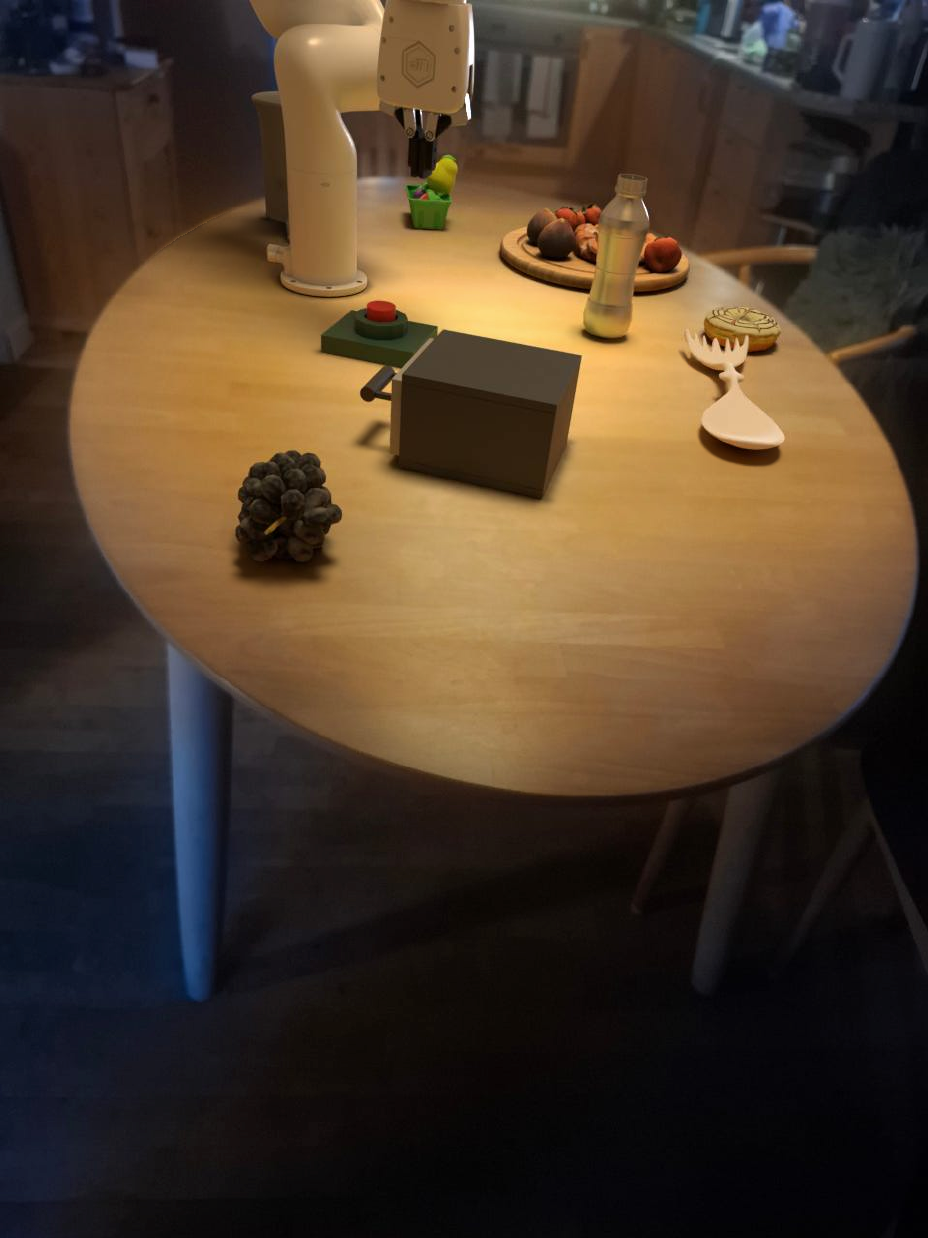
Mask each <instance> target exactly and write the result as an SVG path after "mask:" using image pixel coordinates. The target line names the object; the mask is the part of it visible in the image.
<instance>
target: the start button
mask: <svg viewBox="0 0 928 1238" xmlns="http://www.w3.org/2000/svg"><path fill="white" fill-rule="evenodd" d="M366 308H367V319H368V320H370V321H375V322H392V321H395V320H396V310H397V306H396V304H394V303H393V302H391V301H388V300H387V301H386V300H372V301H369V302H367V304H366Z"/></svg>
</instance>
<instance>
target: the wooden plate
mask: <svg viewBox="0 0 928 1238" xmlns="http://www.w3.org/2000/svg"><path fill="white" fill-rule="evenodd" d="M601 213H602V209H601V208H600V207H599V206H597V204H593V203H588V204H585V205H583V206H582V207H581V210H579V209H577V208H574V207H573V206H572V207H571V206H570V207H568V206H563V205H562V206H561V207H560V208H559V209H557V210H555V211H551V210H550V209H549V208H548V207H545V208H543V209H541V210H539V211H538V212H536V213H535V214H534V215H533V216H532V217H531V219H530V220H529V221H528V224H527V226H524V227H520V228H516V229H514V230H512V231H510V232H508V233H506V235H504V236H503V237H502V239H501V241H500V244H499V251H500V255H501V257H502V258H503V259H504V260H505V262H506V263H508V264H509V265H510V266H511V267H513V268H515V269H517V270H519V271H520V272H522V273H525V274H527V275H530V276H531V277H535V278H538V279H540V280H542V281H547V282H550V283H553V284H558V285H562V286H567V287H572V288H577V289H585V290H591V287H592V282H593V278H594V274H595V267H596V264H597V262H596V258H597V249H598V222H599V217H600V215H601ZM682 251H683V250H682V249H681V247H680V245H679V241H678V240H677V239H674V238H672V237H670V236H668V235H667V236H665V237H663V236H656V235H655V234H653V233H648V234H647V237H646V240H645V243H644V246H643V249H642V252H641V255H640V259H639V263H638V267H637V269H636V270H637V272H636V276H635V282H634V291H633V293H637V292H652V291H659V290H665V289H667V288H671V287H674V286H677V285H678V284H680V283H681V282H683V281H684V280H685V279H686V278H687V277H688V275H689V273H690V269H691V268H690V267H691V265H690V261H689V259H688V258H687V256H686V255H685V254H684V253H683V252H682Z"/></svg>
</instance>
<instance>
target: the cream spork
mask: <svg viewBox="0 0 928 1238" xmlns="http://www.w3.org/2000/svg"><path fill="white" fill-rule="evenodd" d="M693 335H694V336H693V337H692V335H691V333H690V331H689V329H688V327H685V330H684V335H683V336H684V339H685V342H686V344H687V346H688V348H689V349H690V351H691V353H692V355H693V356H694V357H695V359H696V360H698V361H699V362H700V363H701V364H702V365H704V366H706V367H708V368H710V369H711V370H715V371H723V372H720V373H719V374H718V376H719V379H720V380H721V381H724V382H726V383H728V385H729V388H728V391H727V392H726V393H725V394H724V395H723V396H722V397H720V398H719V399H718V400H716V401H715V402H713V403H712V404H710V406H708V407H707V408H706V409H705V410H704V411H703V413H702V415H701V424H702V427H703V428H704V429H705V431H706V432H707V433H708V434H710V435H711V436H713V437H714V438H716V439H717V440H719V441H721V442H723V443H726V444H729V445H731V446H733V447H737V448H740V449H746V450H747V449H748V450H757V451H758V450H767V449H772V448H776V447H778V446H781V444H782V443H784V442H785V439H786V438H785V434H784V432H783V431H782V430H781V428H780V427H779V426H778V425H777V423H776V422H775V421H774V420H773V419H772V418H771V416H769V415H768V414H766V413H765V412H764V411H763V410H762V409H760V408H759V407H758V405H756V404H755V403H754V402H753V401H751V400H750V399H749V398H748V397H747V396H746V394H745V393H744V392H743V391H742V389H741V387H740V385H739V383H742V382H744V381H745V380H746V379H745V376H744V375H743V374H742V373H740V372H738V371H737V370H736V368H737V367H739V366H741V364H743V363H744V362H745V361H746V358H747V356H748V352H747V351H748V347H749V338H748V335H746V336H745V339H744V343H743V346H741V347H740V345H739V341H738V339H737V337H736V339H735V344H734V350H732V349H731V348H730V343H729V339H728V338H727V339H726V344H725V347H724V351H723V352H722V349H721V346H720V345H719V342H718V340H717V339H716V338H715V339H714V340H713V341H712V344H711V348H710V349H709V346H708V342H707V339H706V336H705V335H702V339H701V342H700V340H699V337H698V333H697V332H694V334H693Z"/></svg>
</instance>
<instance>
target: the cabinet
mask: <svg viewBox="0 0 928 1238" xmlns="http://www.w3.org/2000/svg"><path fill="white" fill-rule="evenodd" d="M582 357H583V355H582V354H577V353H572V352H566V351H562V350H561V351H560V350H556V349H549V348H545V347H539V346H534V345H528V344H524V343H519V342H513V341H507V340H502V339H497V338H492V337H486V336H481V335H476V334H470V333H465V332H459V331H454V330H449V329H441V330H440V332H439V333H438V334H437V337H436V338H435V339H434V340H433V341H432V342H431V343H430V344H429V345H428V346H427V347H426V348H425V350H424V351H423V352H422V353H421V354H420V355H419V356H418V357H417V358H416V359H415V360H414V362H413V363H412V364H411V365H410V366H409V367H408V368H407V369H406V370H405V371H404V372H403V374H402V389H401V415H400V441H399V456H398V465H397V466H398V468H400V469H404V470H409V471H414V472H419V473H423V474H427V475H432V476H435V477H436V476H437V477H442V478H445V479H451V480H455V481H458V482H464V483H469V484H473V485H477V486H483V487H486V488H492V489H496V490H500V491H504V492H505V491H506V492H510V493H515V494H519V495H522V496H527V497H531V498H537V499H541V500H542V499H543V498H544V495H545V493H546V491H547V488H548V487H549V484H550V482H551V480H552V478H553V475H554V473H555V472H556V471H555V470H556V468H557V466H558V464H559V461H560V460H561V458H562V455H563V453H564V451H565V449H566V446H567V443H568V439H569V433H570V428H571V422H572V416H573V411H574V403H575V398H576V393H577V386H578V381H579V374H580V369H581V364H582Z"/></svg>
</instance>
